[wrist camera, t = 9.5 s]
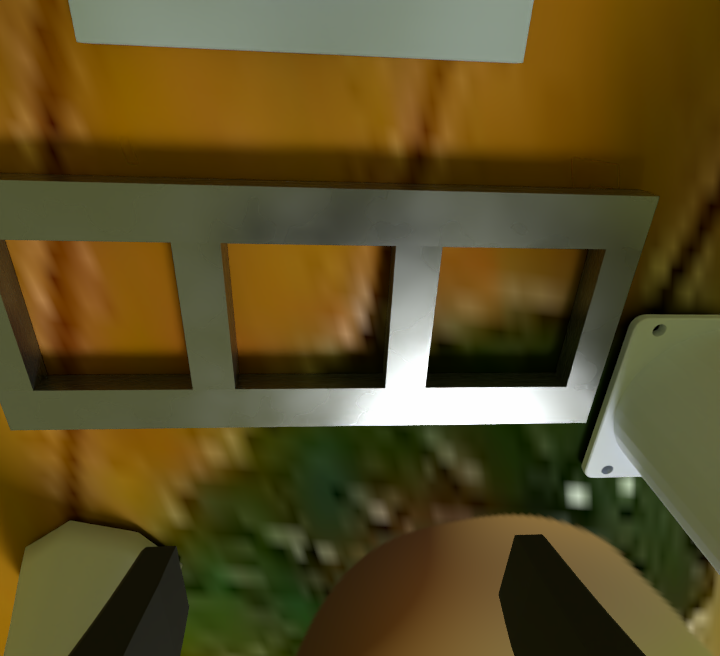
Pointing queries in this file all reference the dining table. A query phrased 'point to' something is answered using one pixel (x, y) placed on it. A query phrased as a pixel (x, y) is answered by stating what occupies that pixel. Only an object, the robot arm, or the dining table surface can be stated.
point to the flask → (68, 585)
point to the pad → (315, 26)
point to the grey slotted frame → (315, 227)
